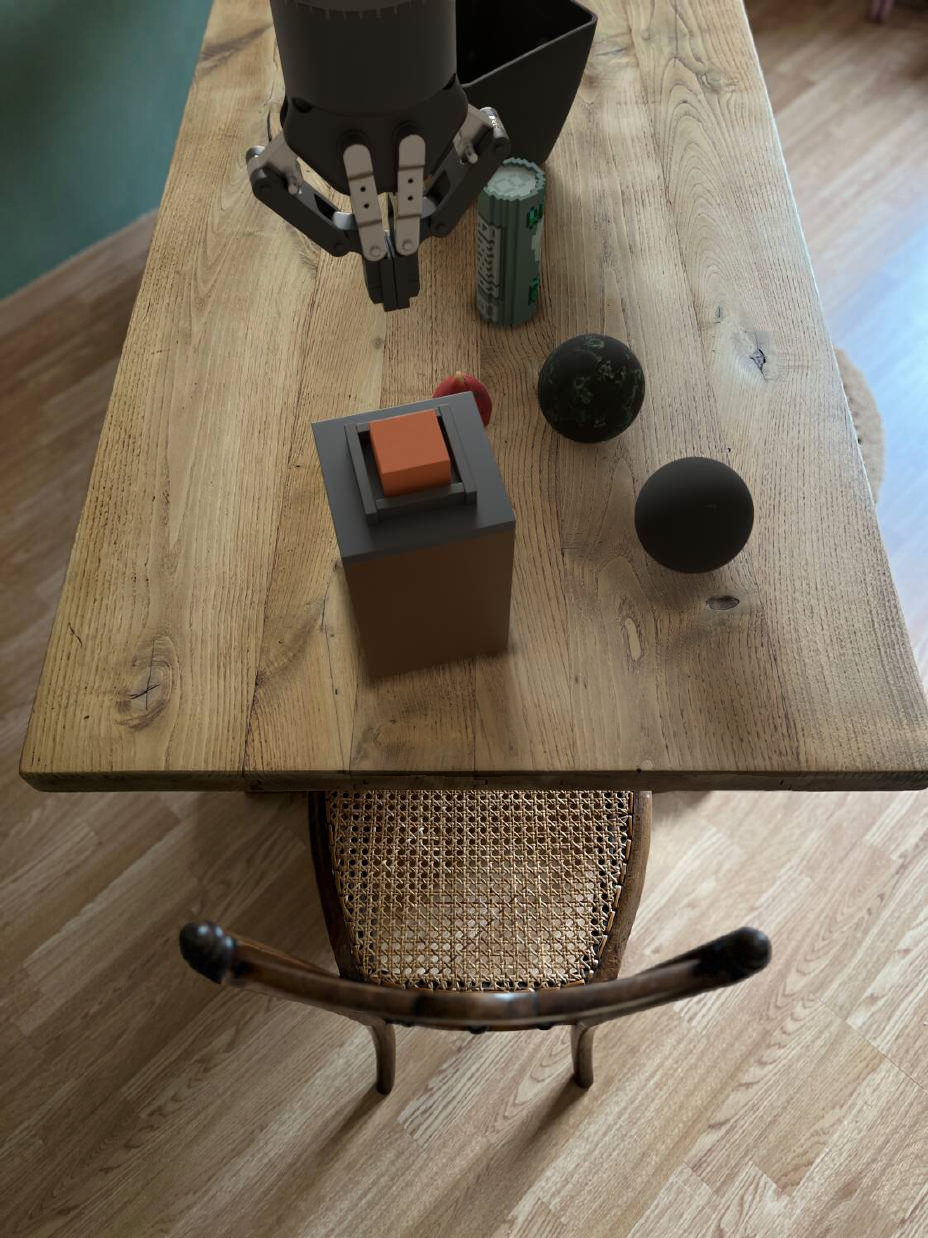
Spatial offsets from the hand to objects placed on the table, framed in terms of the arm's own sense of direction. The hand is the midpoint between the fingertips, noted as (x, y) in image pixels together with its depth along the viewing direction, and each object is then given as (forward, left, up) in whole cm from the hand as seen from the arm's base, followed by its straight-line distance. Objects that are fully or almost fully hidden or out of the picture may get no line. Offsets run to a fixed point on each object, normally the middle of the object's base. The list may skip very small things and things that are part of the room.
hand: (393, 299), depth 51 cm
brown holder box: (0, 0, -34) cm, 34 cm away
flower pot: (+20, +59, -34) cm, 71 cm away
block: (0, 0, -15) cm, 15 cm away
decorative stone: (+20, +16, -34) cm, 43 cm away
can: (+17, +34, -34) cm, 51 cm away
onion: (+8, +18, -34) cm, 39 cm away
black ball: (+24, 0, -34) cm, 42 cm away
